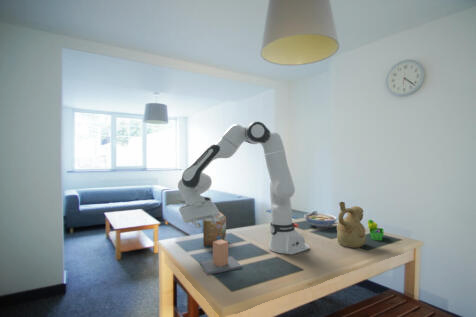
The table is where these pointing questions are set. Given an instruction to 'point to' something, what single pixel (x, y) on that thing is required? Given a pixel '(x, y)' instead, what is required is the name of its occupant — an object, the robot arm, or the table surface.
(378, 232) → the fruit basket
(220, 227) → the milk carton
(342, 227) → the ceramic vessel
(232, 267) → the mat
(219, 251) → the block
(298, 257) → the table surface
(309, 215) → the ramen bowl
